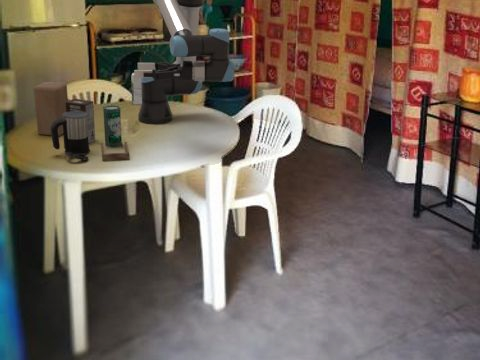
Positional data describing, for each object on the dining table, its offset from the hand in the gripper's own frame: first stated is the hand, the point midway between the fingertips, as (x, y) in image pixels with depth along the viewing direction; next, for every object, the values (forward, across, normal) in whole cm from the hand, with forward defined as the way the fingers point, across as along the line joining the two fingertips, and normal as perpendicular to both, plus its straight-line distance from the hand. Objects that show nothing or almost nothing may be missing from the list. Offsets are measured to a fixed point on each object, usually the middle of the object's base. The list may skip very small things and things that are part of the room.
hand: (136, 70), depth 230 cm
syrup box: (+6, +64, -30) cm, 72 cm away
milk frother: (+21, -13, -30) cm, 39 cm away
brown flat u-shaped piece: (+8, -12, -29) cm, 33 cm away
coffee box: (+23, +5, -30) cm, 38 cm away
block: (+36, +16, -30) cm, 49 cm away
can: (+10, 0, -30) cm, 31 cm away
